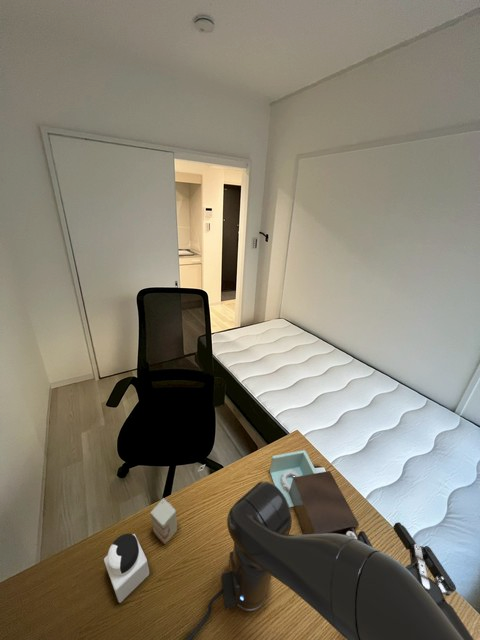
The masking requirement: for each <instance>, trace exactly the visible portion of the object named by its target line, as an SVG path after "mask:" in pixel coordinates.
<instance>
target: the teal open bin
mask: <svg viewBox="0 0 480 640" xmlns="http://www.w3.org/2000/svg"><path fill="white" fill-rule="evenodd" d="M269 473H270V476H271V478H272V479H271V480H272V481H273V484H274V485H275V486H276V487H277V488H278V489H279V490H280V491H281V492H282V493H283V495H284V496H285V498H286V500H287V502H288V505H289V508H294V505H293V503H292V500H291V497H290V494H289V491H290V488H291V484H292V480H293V476H295V477H299V476H304V475H310V474H315V473H318V472H317V470H316V468H315V466H314V464H313V462H312V460H311V458H310V457H309V454H308V452H307V451H306V449H303V450H297V451H292V452H286V453H281V454H276V455H275V454H274V455H272V456H271V461H270V466H269Z"/></svg>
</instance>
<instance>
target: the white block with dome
mask: <svg viewBox="0 0 480 640" xmlns="http://www.w3.org/2000/svg"><path fill="white" fill-rule="evenodd" d="M103 562H104V565H105V568H106V570H107V574H108V577H109V578H110V582H111V585H112V587H113V590H114V593H115V596H116V599H117V602H118V603H119V604H121V603H122V602H124V601H125V599H126V598H127V597H128V596H129V595H130V594H132V592H133V591H134V590H136V589H137V588H138V587H139V586H140V584H142V583H143V582H144V580H146V578H148V577H149V576H150V568H149V563H148V558H147V556H146V554H145V552H144V550H143V548H142V546H141V544H140V542H139V539H138V537H137V536H136V533H124V534H121V535H119V536H118V537H117V538H115V540H114V541H113V542H112V544H111V545H110V547H109V548H108V552H107V555H106V556H104V558H103Z"/></svg>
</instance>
